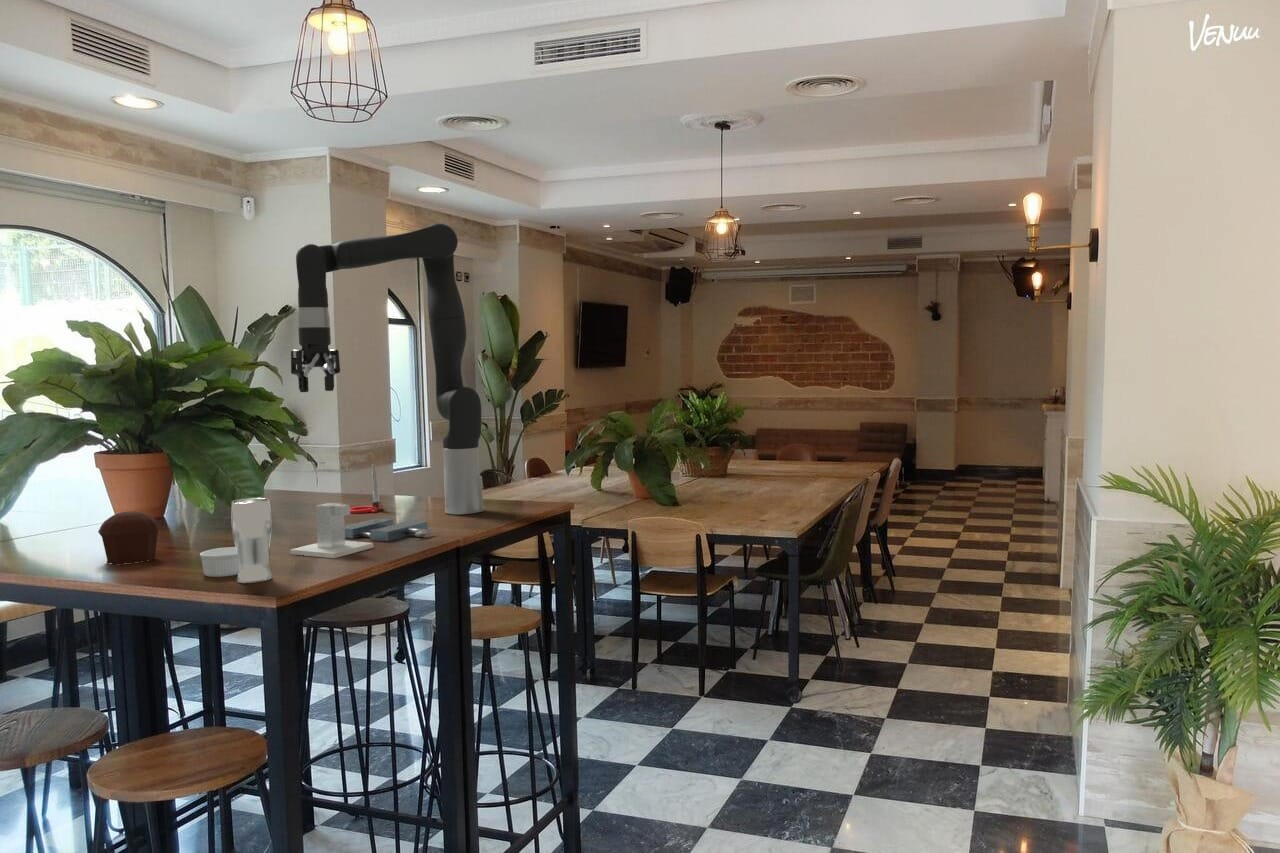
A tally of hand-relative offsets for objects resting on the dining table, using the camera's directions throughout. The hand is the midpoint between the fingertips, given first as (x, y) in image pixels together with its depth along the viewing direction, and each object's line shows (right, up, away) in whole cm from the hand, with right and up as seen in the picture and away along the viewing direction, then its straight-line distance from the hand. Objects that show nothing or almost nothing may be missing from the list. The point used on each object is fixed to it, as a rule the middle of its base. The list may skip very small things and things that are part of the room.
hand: (317, 391), depth 241 cm
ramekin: (0, -37, -53) cm, 65 cm away
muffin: (-25, -37, -40) cm, 60 cm away
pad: (+15, -35, -34) cm, 51 cm away
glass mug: (+16, -34, -35) cm, 51 cm away
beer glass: (+8, -38, -60) cm, 72 cm away
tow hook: (+6, -32, +20) cm, 38 cm away
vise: (+23, -34, -16) cm, 44 cm away
